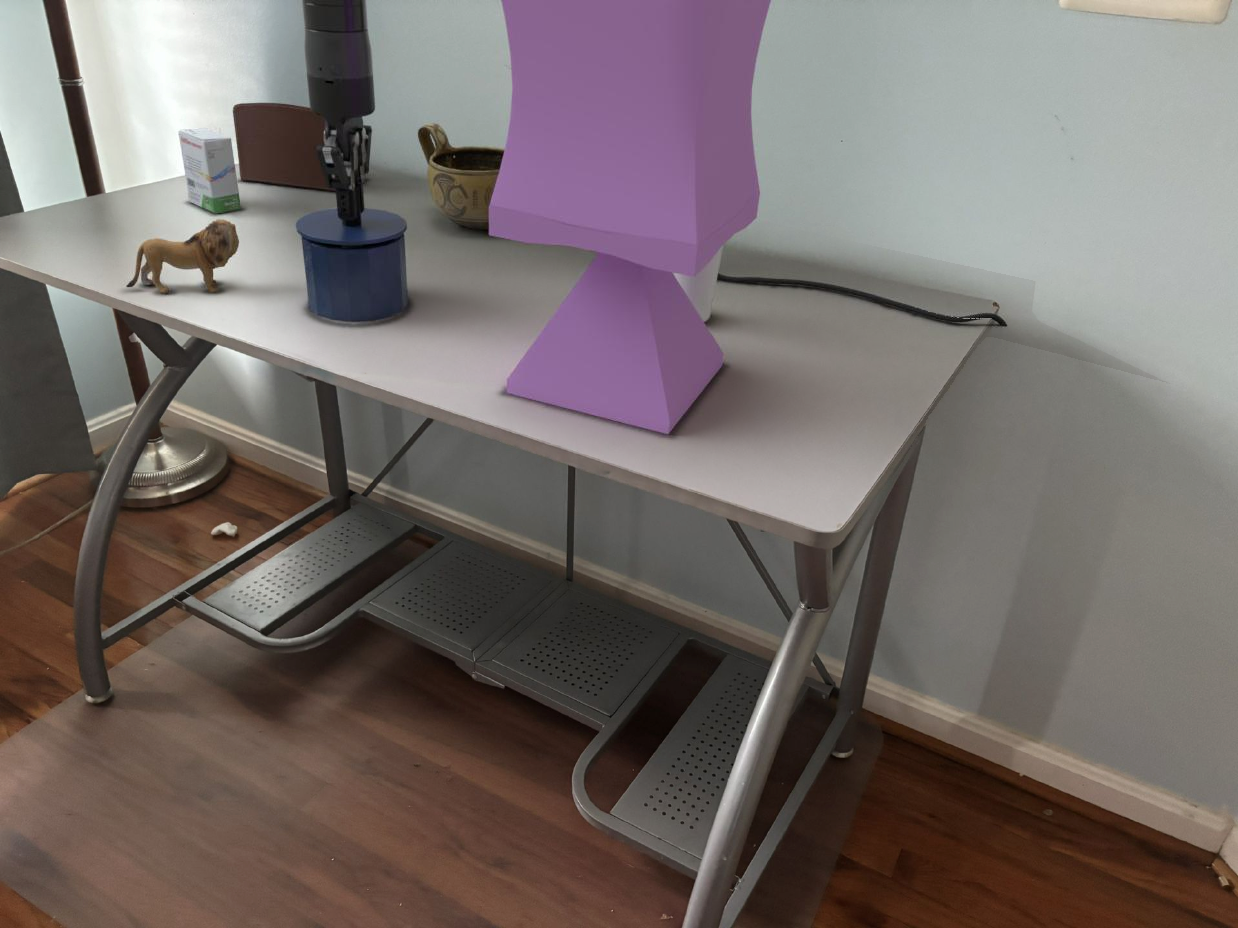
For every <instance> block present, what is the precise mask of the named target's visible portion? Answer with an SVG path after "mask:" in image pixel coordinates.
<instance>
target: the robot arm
mask: <svg viewBox="0 0 1238 928" xmlns="http://www.w3.org/2000/svg"><path fill="white" fill-rule="evenodd" d="M301 4H302V14H303V23H304V42H303V43H304V45H303V46H304V61H305V72H306V82H307V91H308V100H309V101H308V102H309V108H311V110H312V111H313V112H314V113H316V114H318V115H322V116H323V117H324V118H325V120H326V121H325V130H324V143H325V146H317V156H318V159H319V162H320V165H321V169H322V172H323V175H324V178H325V182H326V185H327V188H333V189H336V192H335V198H336V209H337V211H338V217H339V219H341V220H350V221H353V220H355V219H356V218H357V209H356V196H355V190H354V189H355V184H357V185H359V195H360V208H361V213H362V212H363V211H364V208H365V197H364V196H365V195H364V183H365V180H366V178H365V174H366V175H368V174H369V172H370V162H371V161H370V160H371V146H372V134H373V127H372V126H371V125H366V124H364V119H363V117H367V116H370V115H372V114H374V112H375V110H376V99H375V83H374V82H375V81H374V68H373V67H374V66H373V52H372V51H373V50H372V46H371V39H370V36H369V29H368V28H369V23H368V9H367V8H368V7H367V0H301ZM339 177H340V178H339ZM717 280H719V281H724V282H729V283H741V284H742V283H756V284H757V283H758V284H769V285H786V286H787V285H791V286H801V287H803V286H804V287H811V288H817V289H824V290H829V291H834V292H839V293H843V294H847V295H852V296H854V297H855V296H857V297H860V298H864V299H867V300H870V301H873V302H877V303H880V304H884V305H887V306H889V307H892V308H893V307H894V308H896V309H900V310H903V311H907V312H909V313H910V312H911V313H914V314H917V315H920V316H923V317H927V318H931V319H933V320H938V321H942V322H948V323H968V322H973V321H974V322H975V321H979V320H981V319H980V318H992V319H991V320H992V321H994V322H996V323H997V324H998V325H999V326H1000V327H1008V324H1007V322H1006V321H1005V320H1004V318H1002V317H1001V316H1000V315H997V314H995V313H992V312H982V313H976V314H971V315H965V316H964V315H963V316H953V317H951V316H952V315H946V314H942V313H938V312H933V311H930V312H928V311H929V310H926V309H923V308H920V307H917V306H913V305H910V304H907V303H903V302H899V301H896V300H893V299H890V298H886V297H883V296H879V295H876V294H872V293H869V292H865V291H861V290H857V289H853V288H849V287H845V286H841V285H835V284H830V283H824V282H819V281H813V280H806V279H805V280H804V279H795V278H794V279H793V278H792V279H791V278H773V277H760V276H730V275H725V274H722V273H719V272H718V277H717ZM915 307H916V308H915ZM922 309H923V310H922ZM936 313H937V314H936ZM945 315H946V316H945ZM957 317H959V318H957ZM963 318H970V319H963ZM971 318H975V319H971ZM976 318H979V319H976Z"/></svg>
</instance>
